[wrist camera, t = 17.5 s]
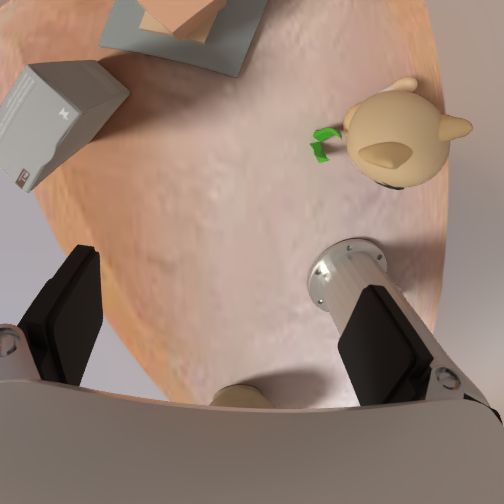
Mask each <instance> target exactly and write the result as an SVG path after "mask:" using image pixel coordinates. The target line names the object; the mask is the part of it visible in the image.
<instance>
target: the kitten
mask: <svg viewBox="0 0 504 504" xmlns="http://www.w3.org/2000/svg"><path fill="white" fill-rule="evenodd" d="M417 86H418V82H417V80H416V79H415V78H413V77H403V78H400V79H399V80H397V81H396V82H395V83H394V84H392V85H391V86H389V87H387V88H385V89H383V90H381V91H379V92H378V93H376V94H375V95H373V96H371V97H370V98H368V99H367V100H366V101H364V102H361V103H359V104H357V105H355V106H354V107H352V108H351V109H350V110H349V112H348V113H347V115H346V117H345V119H344V123H343V128H344V132H345V135H346V137H347V152H348V156H349V158H350V160H351V162H352V164H353V165H354V166H355V168H356V169H357V170H358V171H360V172H361V173H362V174H363V175H365V176H367V177H368V178H370V179H372V180H373V181H375V182H376V183H378V184H380V185H382V186H385V187H387V188H391V189H396V190H402V189H404V187H413V186H417V185H420V184H422V183H425V182H427V181H428V180H430V179H431V178H433V177H434V176H435V175H436V174H437V173H438V172H439V171H440V170H441V168H442V167H443V165H444V164H445V162H446V160H447V157H448V154H449V149H450V141H451V140H453V139H456V138H460V137H464V136H466V135H468V134H469V133H470V132H471V131H472V128H473V126H472V124H471V123H470V122H469V121H468V120H465V119H461V118H456V117H453V116H450V115H446V114H441V113H440V112H439V111H438V109H437V108H436V107H435V106H434V105H433V104H431V103H430V102H429V101H427V100H426V99H424V98H423V97H421V96H419V95H417V94H414V93H412V92H413V91H415V90H416V88H417ZM332 135H337V136H338V137H340V138H341V139H342V135H341V133H340V132H339V131H337V130H335V129H332V128H325V129H322V130H319V131H317V130H316V131H315V132H314V134H313V137H314V138H315V139H317V140H318V141H320V142H322V141H324V140H325V139H327V138H329V137H330V136H332ZM310 145H311V146H312V148H313V149H314V154H315V156H316V158H317V160H318V162H319V163H322V162H326V161H328V160H330V159H328V158H326V154H325V152H324V150H323V148H322V147H321V145H320V143H319V142H316V143H311V144H310Z"/></svg>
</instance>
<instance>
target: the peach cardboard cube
mask: <svg viewBox="0 0 504 504" xmlns="http://www.w3.org/2000/svg"><path fill="white" fill-rule="evenodd" d="M135 1H136V2H137V3H138V4H139V5H140V6H141V7H142V8H143V9H144V10H146V11H147V12H148V13H149V14H150V15H151V16H152V17H153V18H154V19H155V20H156V21H157V22H159V23H160V24H161V25H162V26H163V27H164V28H165V29H166V30H167V31H168V32H169V33H170V34H171V35H172V36H173V37H174V38H175V39H176V40H177V41H178V42H179V41H181V40H182V39H183V38H184V37H186V36H187V35H188V34H189V33H190V32H192V31H193V30H194V29H195V28H197V27H198V26H199V25H201V24H202V23H203V22H204V21H206V20H207V19H208V18H210V17H211V16H212V15H214V14H215V13H216V12H218V11H219V10H221V9H222V8H223V7H225V6H226V2H227V0H135Z"/></svg>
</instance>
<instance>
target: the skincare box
mask: <svg viewBox="0 0 504 504" xmlns="http://www.w3.org/2000/svg"><path fill="white" fill-rule="evenodd" d="M129 95H130V91H129V90H128V89H127V88H126V87H124V86H123V85H122V84H121V83H120V82H119V81H118V80H117V79H116V78H115V77H113V76H112V75H111V74H110V73H109V72H108V71H107V70H106V69H105V68H103V67H102V66H101V65H100V64H99V63H98V62H97V61H95V60H83V61H62V62H47V63H37V64H27V65H26V67H25V68H24V70H23V71H22V73H21V74H20V76H19V77H18V79H17V80H16V82H15V83H14V85H13V86H12V88H11V89H10V91H9V93H8V94H7V96H6V98H5V99H4V101H3V103H2V104H1V106H0V169H1V170H2V171H3V172H4V173H5V174H6V175H7V176H8V177H9V178H10V179H11V180H12V181H14V182H15V183H16V184H17V185H18V186H19V187H20V188H21V189H22V190H23V191H24V192H25V193H26V194H27V193H29V192H30V191H31V190H32V189H34V188H35V187H36V186H37V185H38V184H39V183H40V182H41V181H43V180H44V179H45V178H46V177H47V176H48V175H49V174H51V173H52V172H53V171H54V170H55V169H56V168H57V167H59V166H60V165H61V164H62V163H64V162H65V161H66V160H67V159H69V158H70V157H71V156H72V155H74V154H75V153H76V152H77V151H79V150H80V149H81V148H83V147H84V146H85V145H87V144H89V143H90V141H91V140H92V139H93V138H94V136H95V135H96V134H97V133H98V131H99V130H100V129H101V128H102V126H103V125H104V124H105V123H106V122H107V120H108V119H109V118H110V117H111V116H112V114H113V113H114V112H115V111H116V110H117V108H118V107H119V106H120V105H121V104H122V103H123V102H124V100H125V99H126V98H127V97H128V96H129Z"/></svg>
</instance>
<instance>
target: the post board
mask: <svg viewBox="0 0 504 504" xmlns="http://www.w3.org/2000/svg"><path fill="white" fill-rule="evenodd" d="M267 3H268V0H227V2H226V6H225V7H223V8H222V9H221V10H219V11H218V12H216V13H215V14H214V15H212V16H211V17H210V18H208V19H207V20H206V21H204V22H203V23H202V24H201V25H199V26H198V27H197V28H195V29H194V30H193V31H192V32H190V33H189V34H188V35H187V36H186V37H184V38H183V39H182V40H181V41H179V42H178V41H177V40H176V39H175V38H174V37H173V36H172V35H171V34H170V33H169V32H168V31H167V30H166V29H165V28H164V27H163V26H162V25H161V24H160V23H159V22H157V21H156V20H155V19H154V18H153V17H152V16H151V15H150V14H149V13H148V12H147V11H146V10H144V9H143V8H142V7H141V6H140V5H139V4H138V3H137V2H136V1H135V0H115V2H114V4H113V7H112V9H111V12H110V15H109V17H108V20H107V22H106V25H105V28H104V31H103V33H102V36H101V39H100V42H99V45H98V46H100V47H106V48H113V49H119V50H125V51H131V52H136V53H141V54H146V55H151V56H156V57H161V58H165V59H170V60H174V61H178V62H182V63H186V64H190V65H194V66H198V67H202V68H205V69H209V70H212V71H216V72H219V73H223V74H226V75H229V76H232V77H236V78H237V77H238V74H239V71H240V69H241V66H242V64H243V61H244V58H245V56H246V53H247V51H248V48H249V46H250V43H251V41H252V38H253V36H254V33H255V31H256V28H257V26H258V24H259V21H260V19H261V17H262V14H263V12H264V10H265V7H266V5H267Z"/></svg>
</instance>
